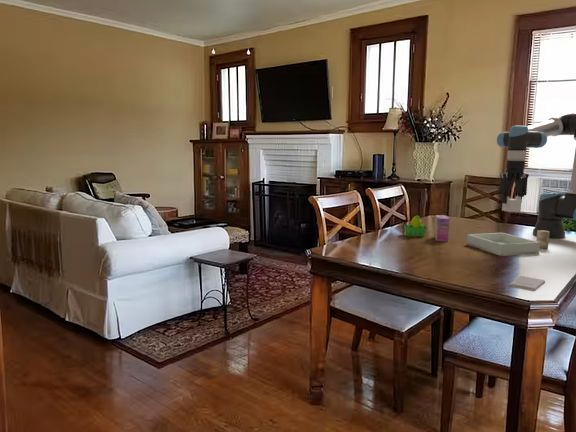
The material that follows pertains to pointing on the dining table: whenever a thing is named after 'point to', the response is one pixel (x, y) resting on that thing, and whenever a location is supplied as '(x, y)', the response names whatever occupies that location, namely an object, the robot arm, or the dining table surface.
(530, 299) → the dining table surface
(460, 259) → the dining table surface
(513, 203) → the grey cube
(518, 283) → the external hard drive
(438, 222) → the box
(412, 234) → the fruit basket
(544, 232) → the beech cylinder
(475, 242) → the tote
